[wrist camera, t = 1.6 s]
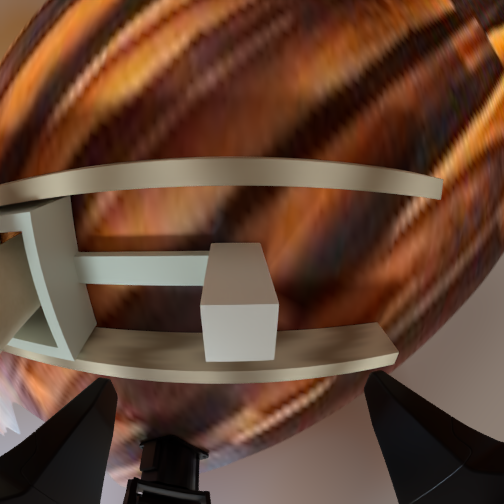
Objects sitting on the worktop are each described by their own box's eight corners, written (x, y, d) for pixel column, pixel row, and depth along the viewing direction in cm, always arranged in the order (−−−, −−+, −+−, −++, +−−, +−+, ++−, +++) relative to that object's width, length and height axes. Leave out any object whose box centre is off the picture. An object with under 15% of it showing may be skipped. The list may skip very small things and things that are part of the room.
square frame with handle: (261, 185, 16) (284, 213, 9) (257, 328, 19) (269, 405, 13) (-12, 208, 14) (-68, 235, 7) (16, 312, 17) (-23, 357, 11)
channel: (405, 170, 16) (507, 199, 8) (373, 333, 21) (423, 411, 12) (-28, 192, 13) (-97, 223, 5) (6, 322, 18) (-39, 376, 10)
